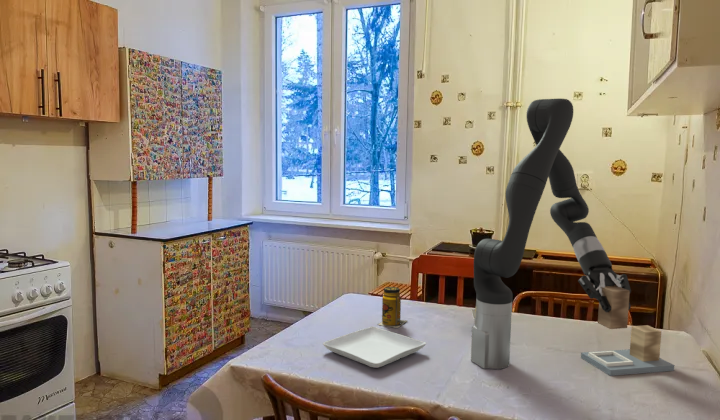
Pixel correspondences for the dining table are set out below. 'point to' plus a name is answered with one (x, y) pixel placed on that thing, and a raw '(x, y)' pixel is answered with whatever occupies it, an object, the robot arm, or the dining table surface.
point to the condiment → (391, 308)
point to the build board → (624, 363)
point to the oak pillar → (645, 343)
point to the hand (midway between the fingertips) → (618, 310)
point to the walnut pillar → (615, 308)
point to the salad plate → (374, 346)
